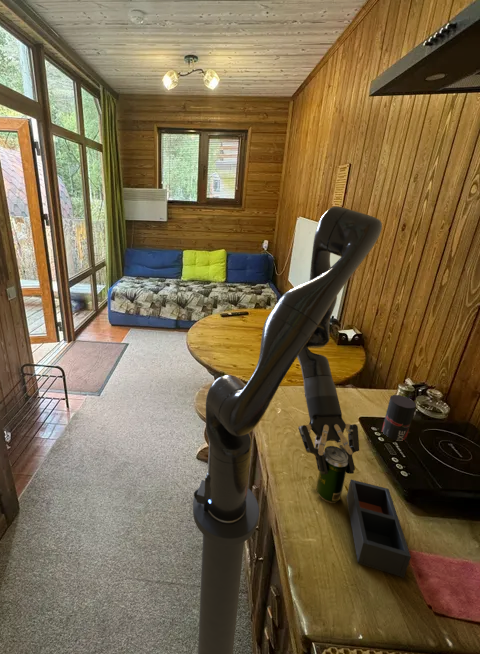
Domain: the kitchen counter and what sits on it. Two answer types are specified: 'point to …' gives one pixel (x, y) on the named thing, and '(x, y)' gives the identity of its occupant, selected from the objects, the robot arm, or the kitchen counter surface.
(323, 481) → the beer can
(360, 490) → the box
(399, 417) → the deodorant
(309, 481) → the kitchen counter surface
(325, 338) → the robot arm
